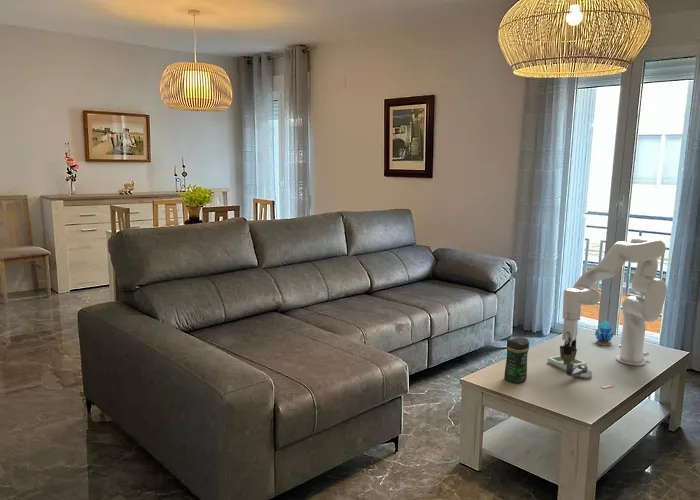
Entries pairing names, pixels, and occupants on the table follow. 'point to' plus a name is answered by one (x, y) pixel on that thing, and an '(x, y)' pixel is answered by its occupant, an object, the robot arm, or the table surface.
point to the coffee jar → (516, 360)
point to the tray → (559, 363)
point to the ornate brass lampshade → (567, 357)
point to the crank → (574, 372)
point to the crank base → (584, 374)
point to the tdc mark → (607, 386)
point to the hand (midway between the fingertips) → (569, 350)
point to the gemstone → (604, 334)
